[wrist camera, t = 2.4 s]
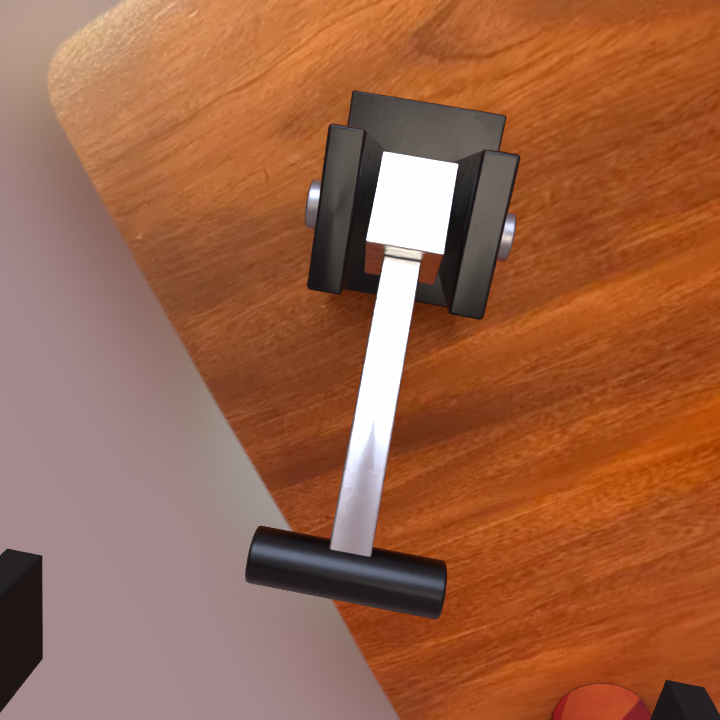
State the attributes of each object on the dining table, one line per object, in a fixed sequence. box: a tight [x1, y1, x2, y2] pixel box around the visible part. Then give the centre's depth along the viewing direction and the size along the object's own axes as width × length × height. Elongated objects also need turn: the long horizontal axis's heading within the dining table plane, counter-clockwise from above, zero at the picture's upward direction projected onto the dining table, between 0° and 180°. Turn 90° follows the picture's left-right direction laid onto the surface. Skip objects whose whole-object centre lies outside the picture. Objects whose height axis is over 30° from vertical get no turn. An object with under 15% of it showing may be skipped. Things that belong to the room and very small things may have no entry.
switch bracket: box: [305, 91, 520, 320], centre depth 22 cm, size 9×7×14 cm
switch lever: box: [245, 151, 459, 619], centre depth 16 cm, size 12×5×2 cm, turn 170°
